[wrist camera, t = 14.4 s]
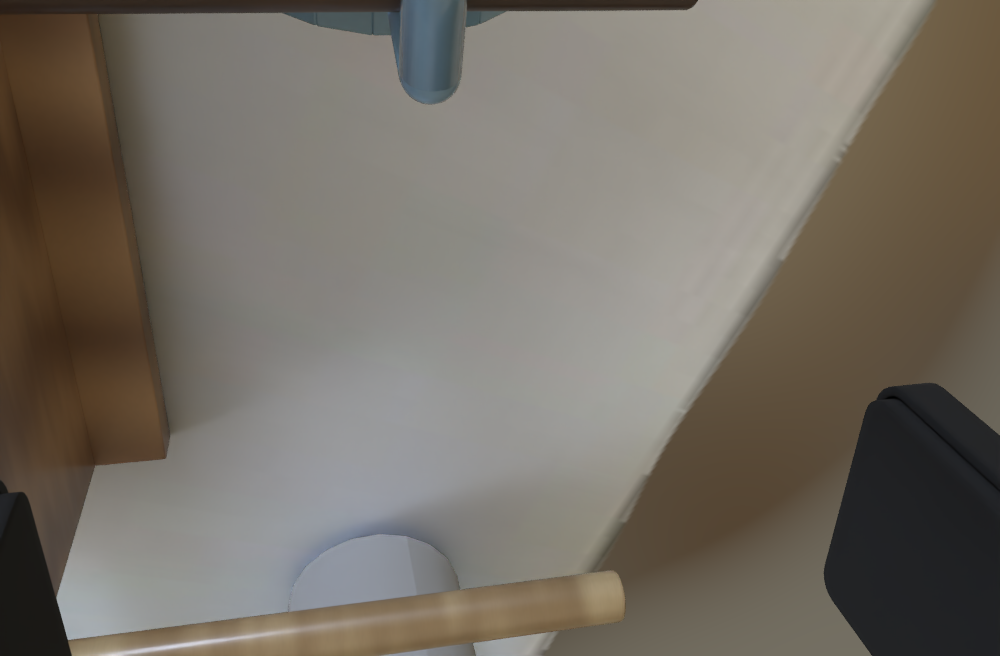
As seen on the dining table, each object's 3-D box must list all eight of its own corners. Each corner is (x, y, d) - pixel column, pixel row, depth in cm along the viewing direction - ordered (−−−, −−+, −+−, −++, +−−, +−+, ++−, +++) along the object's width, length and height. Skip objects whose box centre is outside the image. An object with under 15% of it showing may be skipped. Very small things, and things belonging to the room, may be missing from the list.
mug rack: (-259, -327, 23) (-1475, -680, 7) (503, -284, 27) (826, -451, 11) (-26, 454, 34) (-293, 995, 18) (486, 408, 38) (632, 824, 22)
